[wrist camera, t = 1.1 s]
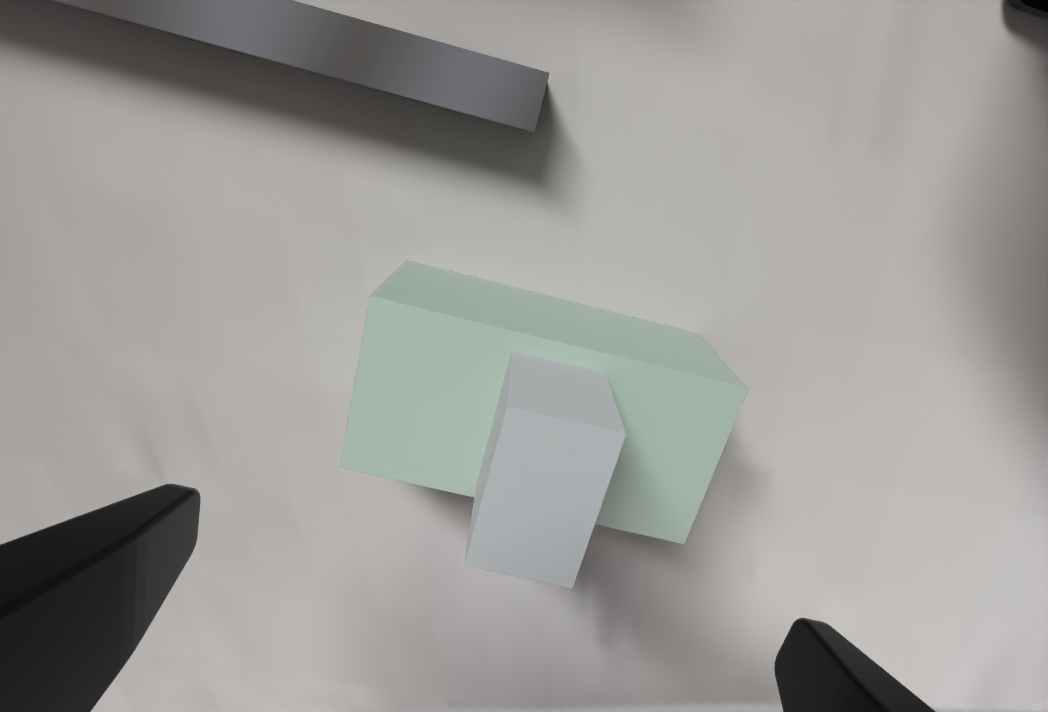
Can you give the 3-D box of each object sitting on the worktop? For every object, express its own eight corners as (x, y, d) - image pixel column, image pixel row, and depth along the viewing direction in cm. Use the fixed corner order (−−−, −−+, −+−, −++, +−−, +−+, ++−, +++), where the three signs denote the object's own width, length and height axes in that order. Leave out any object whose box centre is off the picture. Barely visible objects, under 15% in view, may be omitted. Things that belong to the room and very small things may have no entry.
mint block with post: (697, 332, 20) (807, 453, 12) (650, 458, 22) (721, 638, 14) (407, 259, 20) (324, 338, 12) (381, 395, 21) (292, 548, 13)
